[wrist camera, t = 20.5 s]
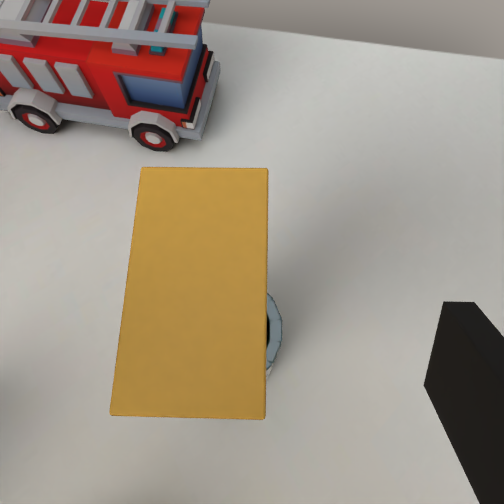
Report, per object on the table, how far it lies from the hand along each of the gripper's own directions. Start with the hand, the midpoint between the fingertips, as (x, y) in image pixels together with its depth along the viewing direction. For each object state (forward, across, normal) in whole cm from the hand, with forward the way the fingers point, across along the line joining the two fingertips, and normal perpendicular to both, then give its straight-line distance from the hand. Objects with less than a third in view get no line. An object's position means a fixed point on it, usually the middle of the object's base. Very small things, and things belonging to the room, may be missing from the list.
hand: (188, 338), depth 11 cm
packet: (+9, 0, -6) cm, 11 cm away
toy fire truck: (+30, -12, +3) cm, 33 cm away
